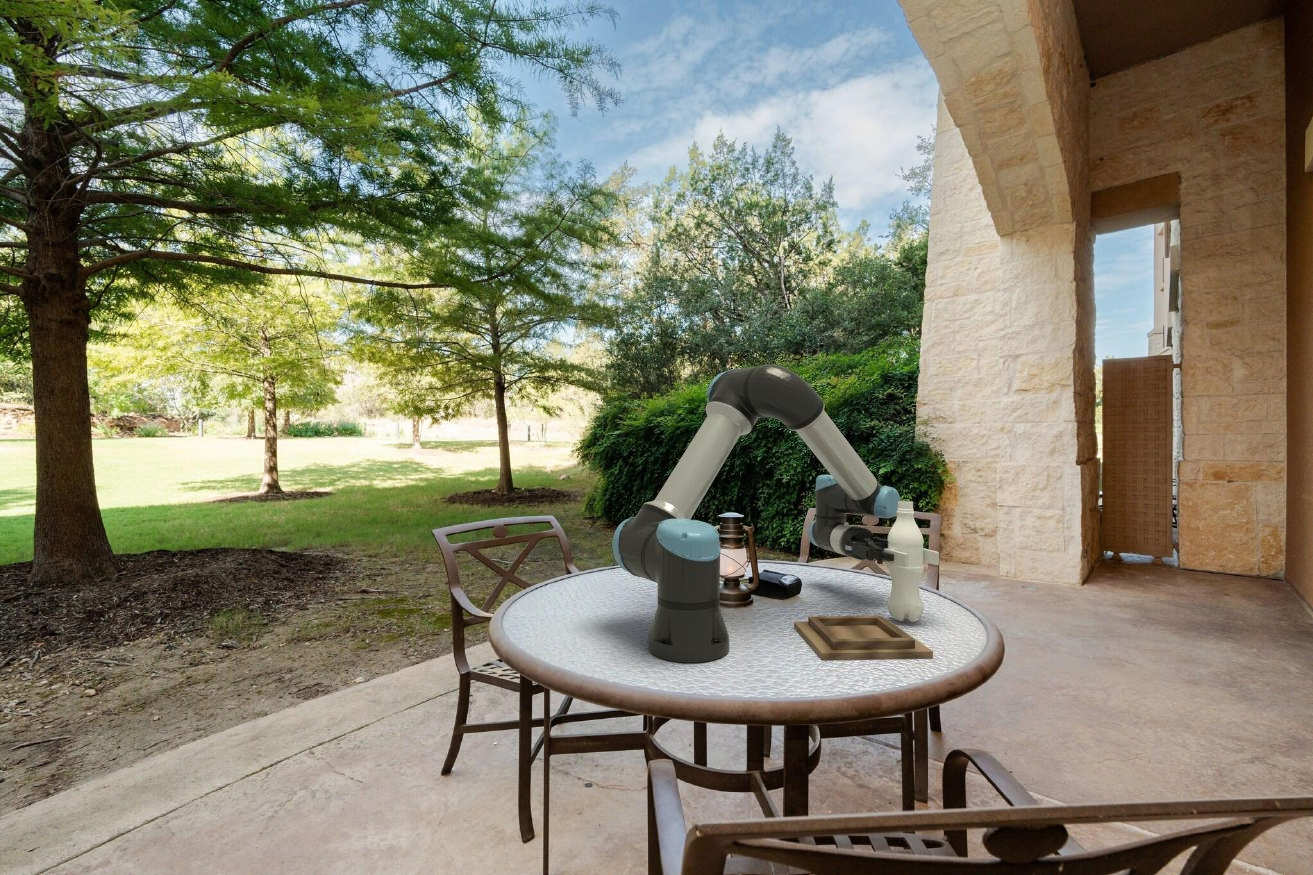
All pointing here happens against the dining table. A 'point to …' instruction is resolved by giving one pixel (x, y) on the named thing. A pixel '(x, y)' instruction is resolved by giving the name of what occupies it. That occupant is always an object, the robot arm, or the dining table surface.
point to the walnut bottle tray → (859, 638)
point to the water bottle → (906, 579)
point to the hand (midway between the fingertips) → (922, 559)
